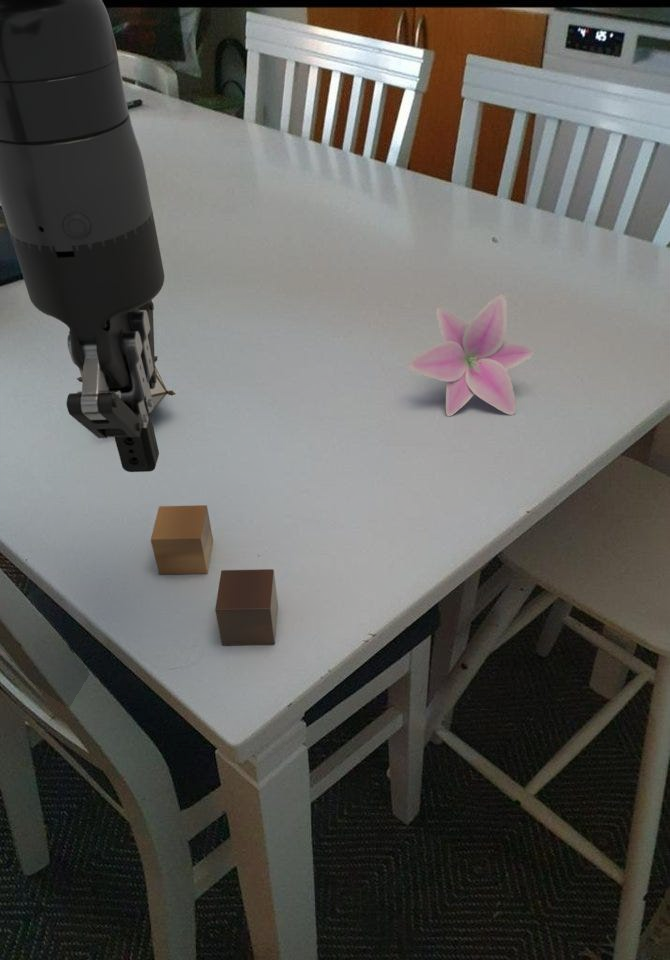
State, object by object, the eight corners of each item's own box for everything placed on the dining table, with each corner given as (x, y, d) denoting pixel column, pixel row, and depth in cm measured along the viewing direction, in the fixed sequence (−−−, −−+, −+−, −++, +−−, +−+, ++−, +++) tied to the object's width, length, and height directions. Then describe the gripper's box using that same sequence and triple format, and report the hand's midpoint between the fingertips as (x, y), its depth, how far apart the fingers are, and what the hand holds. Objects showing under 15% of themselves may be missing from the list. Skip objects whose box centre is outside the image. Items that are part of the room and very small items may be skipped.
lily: (388, 408, 86) (407, 362, 77) (425, 323, 90) (447, 271, 81) (493, 452, 85) (524, 412, 76) (525, 365, 90) (557, 316, 81)
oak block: (159, 574, 66) (150, 539, 64) (166, 541, 70) (159, 506, 67) (207, 573, 66) (200, 538, 64) (213, 539, 69) (207, 504, 67)
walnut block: (221, 645, 61) (214, 610, 58) (227, 605, 64) (221, 569, 61) (274, 644, 60) (270, 608, 58) (278, 604, 64) (273, 568, 61)
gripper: (44, 171, 48) (108, 410, 59) (-34, 268, 38) (60, 535, 49) (170, 166, 48) (210, 407, 59) (124, 262, 38) (183, 532, 49)
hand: (142, 465), depth 54 cm, fingers closed
